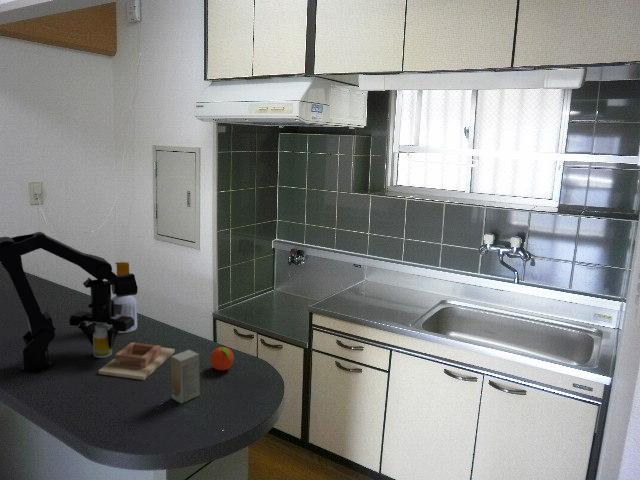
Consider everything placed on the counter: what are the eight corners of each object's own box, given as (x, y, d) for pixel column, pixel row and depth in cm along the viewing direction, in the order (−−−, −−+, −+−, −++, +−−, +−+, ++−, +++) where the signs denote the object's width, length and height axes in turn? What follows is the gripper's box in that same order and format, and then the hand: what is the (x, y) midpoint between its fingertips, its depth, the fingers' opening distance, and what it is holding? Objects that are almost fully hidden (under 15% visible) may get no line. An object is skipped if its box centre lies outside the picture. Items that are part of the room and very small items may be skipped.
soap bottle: (108, 334, 178) (106, 264, 173) (111, 324, 187) (109, 258, 182) (136, 333, 181) (135, 264, 176) (137, 323, 189) (136, 257, 184)
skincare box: (190, 390, 144) (190, 348, 141) (200, 395, 141) (200, 353, 139) (170, 398, 139) (170, 355, 137) (180, 404, 136) (180, 360, 134)
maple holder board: (143, 379, 148) (143, 366, 147) (98, 373, 150) (98, 360, 149) (174, 351, 168) (174, 340, 167) (133, 346, 170) (133, 335, 169)
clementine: (240, 371, 156) (240, 349, 155) (220, 378, 152) (220, 355, 150) (225, 362, 162) (225, 340, 161) (205, 368, 157) (205, 346, 156)
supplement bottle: (91, 353, 163) (90, 324, 161) (108, 349, 167) (108, 321, 165) (96, 359, 159) (95, 330, 157) (114, 355, 162) (113, 326, 161)
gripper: (142, 294, 166) (143, 340, 169) (88, 288, 168) (90, 334, 172) (124, 305, 155) (125, 354, 158) (66, 299, 158) (69, 347, 161)
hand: (102, 347), depth 162 cm, fingers closed on supplement bottle, 5 cm apart
